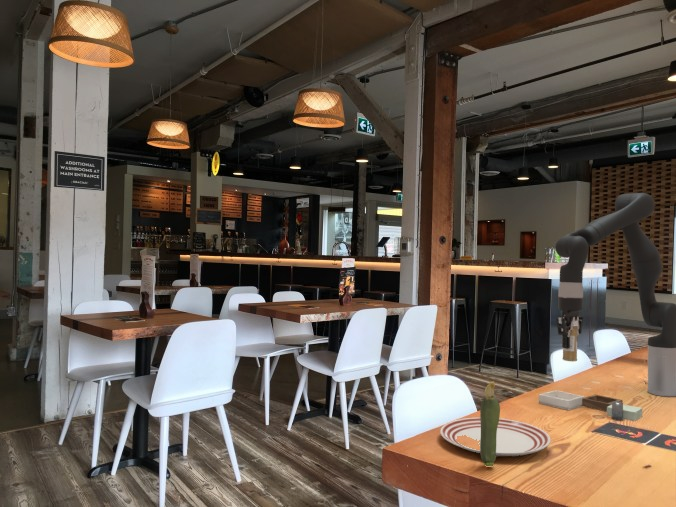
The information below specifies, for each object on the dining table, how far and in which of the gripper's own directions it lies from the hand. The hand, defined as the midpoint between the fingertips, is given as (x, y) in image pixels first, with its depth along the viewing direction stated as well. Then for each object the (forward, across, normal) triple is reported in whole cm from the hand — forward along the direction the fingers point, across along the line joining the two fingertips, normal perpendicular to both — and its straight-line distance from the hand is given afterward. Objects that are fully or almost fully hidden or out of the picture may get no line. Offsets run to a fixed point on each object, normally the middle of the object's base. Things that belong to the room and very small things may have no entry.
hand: (569, 347), depth 176 cm
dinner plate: (+21, +52, +7) cm, 56 cm away
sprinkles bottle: (+5, 0, 0) cm, 5 cm away
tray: (+19, 0, -2) cm, 19 cm away
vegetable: (+21, +66, +16) cm, 71 cm away
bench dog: (+19, +3, +17) cm, 26 cm away
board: (+19, -3, +17) cm, 26 cm away
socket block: (+19, -8, +8) cm, 22 cm away
